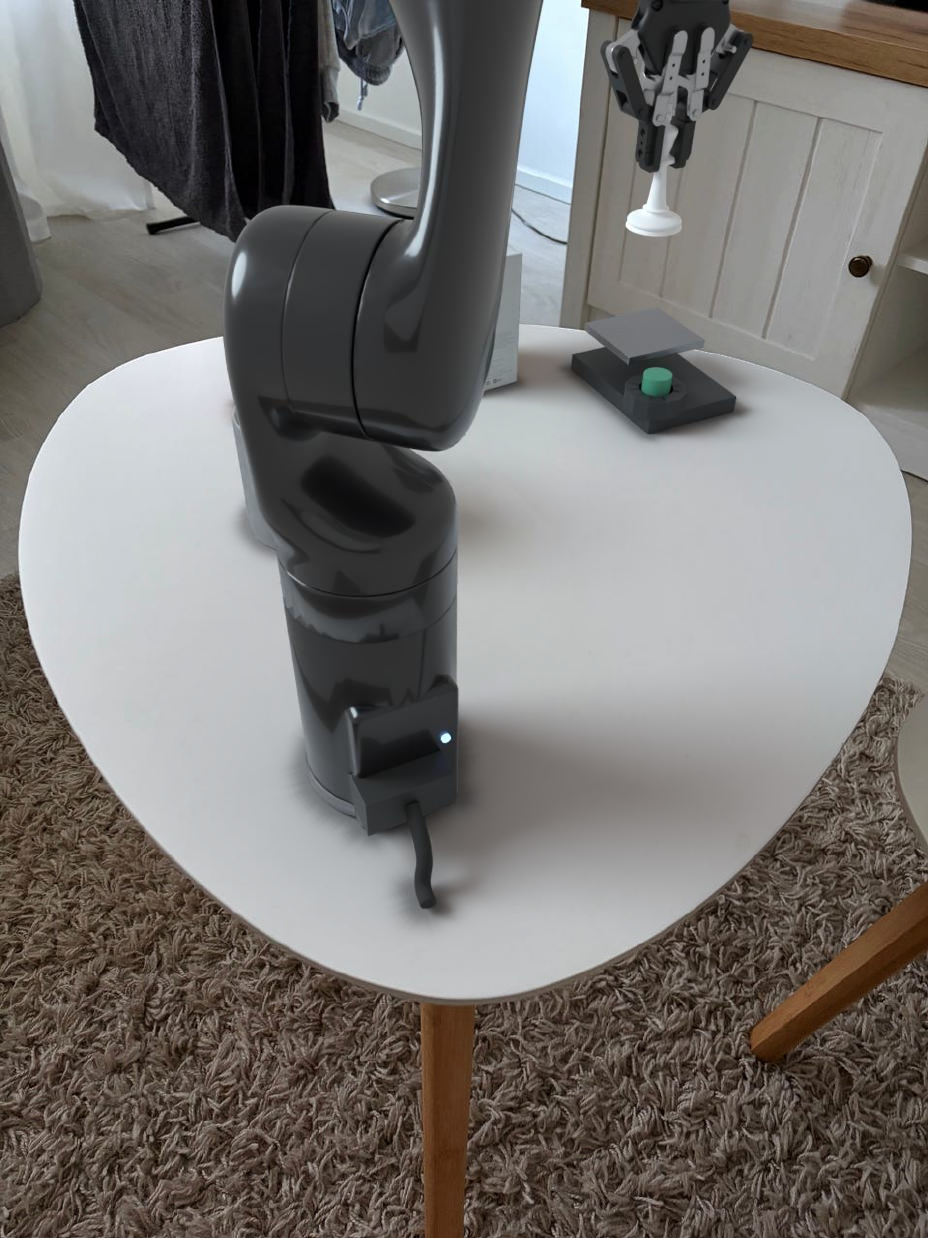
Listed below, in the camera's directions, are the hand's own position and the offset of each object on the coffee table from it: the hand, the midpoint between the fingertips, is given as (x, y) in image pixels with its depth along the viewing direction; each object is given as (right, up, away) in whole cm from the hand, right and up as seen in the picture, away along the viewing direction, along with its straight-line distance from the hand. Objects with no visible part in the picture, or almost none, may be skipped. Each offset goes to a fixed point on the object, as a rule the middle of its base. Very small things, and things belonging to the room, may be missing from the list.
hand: (661, 166), depth 84 cm
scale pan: (+1, -11, +12) cm, 17 cm away
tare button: (+1, -18, +7) cm, 19 cm away
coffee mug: (-29, -29, -2) cm, 42 cm away
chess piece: (0, -4, +4) cm, 5 cm away
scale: (+1, -16, +13) cm, 21 cm away
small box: (-16, -14, +16) cm, 26 cm away
